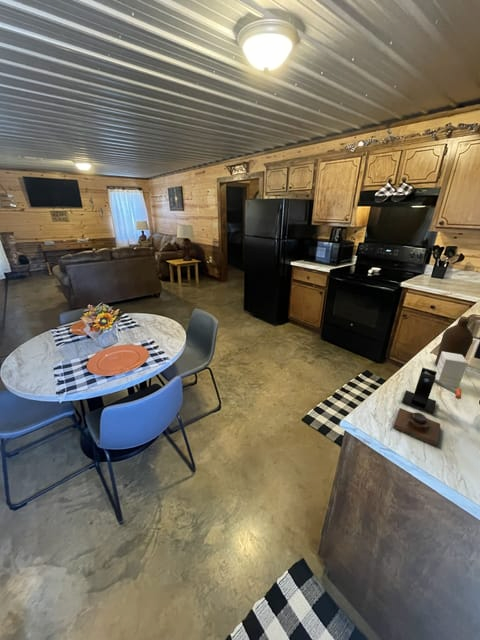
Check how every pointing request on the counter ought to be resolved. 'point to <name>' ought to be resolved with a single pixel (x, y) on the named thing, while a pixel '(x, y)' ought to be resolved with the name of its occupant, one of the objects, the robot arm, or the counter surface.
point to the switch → (456, 392)
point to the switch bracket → (422, 393)
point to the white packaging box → (451, 369)
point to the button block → (417, 427)
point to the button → (419, 418)
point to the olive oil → (456, 339)
